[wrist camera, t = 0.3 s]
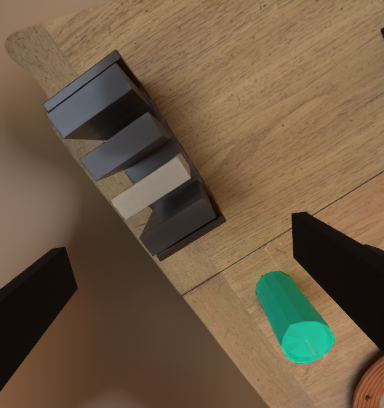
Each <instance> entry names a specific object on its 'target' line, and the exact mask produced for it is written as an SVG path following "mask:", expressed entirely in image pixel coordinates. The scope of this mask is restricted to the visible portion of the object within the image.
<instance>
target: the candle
mask: <svg viewBox="0 0 384 408" xmlns="http://www.w3.org/2000/svg"><path fill="white" fill-rule="evenodd" d="M256 294H257V297H258V299H259V301H260V303H261V305H262V307H263V310H264V312H265V314H266V316H267V318H268V320H269V322H270V325H271V327H272V329H273V331H274V333H275V335H276V337H277V340H278V342H279V344H280V346H281V348H282V350H283V352H284V353H285V355H286V357H287V359H289V360H291V361H294V362H296V363H312V362H313V361H315V360H317V359H319V358H320V357H322V356H324V355H325V354H326V353H327V352H328V351H329V350H330V349H331V348H332V346H333V343H334V340H335V337H334V335H333V333H332V331H331V329H330V327H329V326H328V325H327V323H326V322H325V321H324V320H323V318H322V317H321V316H320V314H319V313H318V312H317V311H316V309H315V308H314V307H313V305H312V304H311V303H310V302H309V300H308V299H307V298H306V297H305V295H304V294H303V293H302V291H301V290H300V289H299V288H298V286H297V285H296V284H295V282H294V281H293V280H292V279H291V277H290V276H288V275H286V274H285V273H283V272H270V273H268V274H266V275H264V276H262V277H261V279H260V280H259V282H258V283H257V285H256Z"/></svg>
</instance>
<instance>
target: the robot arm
mask: <svg viewBox="0 0 384 408" xmlns="http://www.w3.org/2000/svg"><path fill="white" fill-rule="evenodd" d="M292 237H293V257H294V259H295V260H296V261H297V262H298V263H299V264H300V265H301V266H302V267H303V268H304V269H305V270H306V271H307V272H308V273H309V274H310V275H311V277H312V278H313V279H314V280H315V281H316V282H317V283H318V284H319V285H320V286H321V287H322V288H323V289H324V290H325V291H326V292H327V293H328V295H329V296H330V297H331V298H332V299H333V300H334V301H335V302H336V303H337V304H338V305H339V306H340V307H341V308H342V309H343V310H344V312H345V313H346V314H347V315H348V316H349V317H350V318H351V319H352V320H353V321H354V322H355V323H356V324H357V325H358V326H359V327H360V328H361V330H362V331H363V332H364V333H365V334H366V335H367V336H368V337H369V338H370V339H371V340H372V341H373V342H374V343H375V344H376V345H377V347H378V348H379V349H380V350H381V351H384V251H383V250H381V249H379V248H376V247H373V246H370V245H366V244H365V245H362V244H360V243H359V242H357V241H355V240H353V239H352V238H350V237H348V236H346V235H345V234H343V233H341V232H340V231H338V230H336V229H334V228H333V227H331V226H329V225H327V224H326V223H324V222H322V221H320V220H319V219H317V218H315V217H313V216H312V215H310V214H308V213H306V212H299V213H292ZM77 289H78V288H77V284H76V281H75V278H74V274H73V271H72V268H71V264H70V261H69V258H68V254H67V251H66V248H65V247H61V248H54V249H51V250H50V251H49V252H47V253H46V254H45V255H43V256H42V257H41V258H40V259H38V260H37V261H36V262H35V263H33V264H32V265H31V266H29V267H28V268H27V269H26V270H25V271H23V272H22V273H20V274H19V275H18V276H17V277H15V278H14V279H13V280H12V281H10V282H9V283H8V284H6V286H4V287H3V288H1V289H0V391H1V390H2V389H3V387H4V386H5V384H6V383H7V382H8V381H9V379H10V378H11V376H12V375H13V374H14V373H15V371H16V370H17V369H18V367H19V366H20V364H21V363H22V362H23V361H24V359H25V358H26V357H27V355H28V354H29V353H30V351H31V350H32V349H33V347H34V346H35V345H36V343H37V342H38V341H39V339H40V338H41V337H42V335H43V334H44V333H45V331H46V330H47V328H48V327H49V326H50V325H51V323H52V322H53V321H54V319H55V318H56V317H57V315H58V314H59V313H60V311H61V310H62V309H63V307H64V306H65V305H66V303H67V302H68V301H69V299H70V298H71V297H72V295H73V294H74V293H75V291H76V290H77Z"/></svg>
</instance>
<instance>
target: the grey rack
mask: <svg viewBox="0 0 384 408" xmlns="http://www.w3.org/2000/svg"><path fill="white" fill-rule="evenodd" d="M43 106H44V107H45V109H46V110H47V112H49V113H48V114H46V116H47V117H48V119H49V120H50V121H51V123H52V124H53V125H54V126H55V128H56V129H57V130H58V132H59V133H60V134H61V136H62V137H63V138H64V139H84V140H102V141H103V142H104V143H103V144H101V145H100V146H98V147H97V148H95V149H94V150H93V151H91V152H90V153H88V154H87V155H86V156H84V157H83V158H81V159H80V161H81V162H82V164H83V165H84V166H85V168H86V169H87V170H88V172H89V173H90V174H91V175H92V177H93V178H94V179H95V181H98V180H101V179H103V178H106V177H108V176H111V175H113V174H115V173H118V172H120V171H123V170H124V171H125V173H126V174H127V176H128V177H129V178H130V180H131V181H132V183H133V184H134V183H135V182H136V181H138V180H139V179H141V178H142V177H144V176H145V175H147V174H148V173H150V172H151V171H153V170H154V169H156V168H157V167H159V166H160V165H162V164H163V163H165V162H166V161H168V160H169V159H171V158H172V157H174V156H175V155H177V154H178V153H180V152H181V154H182V156H183V157H184V159H185V160H186V162H187V163H188V165H189V167H190V175H191V178H190V179H189V180H187V181H186V182H184V183H183V184H181V185H180V186H178V187H177V188H175V189H174V190H172V191H170V192H169V193H167V194H166V195H164V196H163V197H161V198H160V199H158V200H157V201H155V202H153V203H152V204H150V205H149V206H150V208H151V209H152V210H153V212H152V214H151V216H150V218H149V220H148V222H147V224H146V226H145V228H144V230H143V232H142V234H141V236H140V238H139V239H140V240H141V241H142V243H143V244H144V245H145V247H146V248H147V249H148V250H149V252H150V253H151V254H152V256H154V255H156V254H157V258H158V259H159V260H160V261H162V260H164V259H166V258H167V257H169V256H171V255H172V254H174V253H175V252H177V251H179V250H180V249H182V248H184V247H185V246H187V245H189V244H190V243H192V242H193V241H195V240H197V239H198V238H200V237H202V236H203V235H205V234H206V233H208V232H210V231H211V230H213V229H215V228H216V227H218V226H220V225H221V224H223V223H224V222H226V219H225V217H224V215H223V213H222V211H221V209H220V207H219V206H218V204H217V202H216V200H215V198H214V196H213V195H212V193H211V192H210V190H209V189H208V187H207V186H206V184H205V182H204V181H203V179H202V178H201V176H200V175H199V173H198V171H197V170H196V168H195V167H194V165H193V164H192V162H191V161H190V159H189V157H188V156H187V154H186V153H185V151H184V150H183V148H182V146H181V145H180V143H179V142H178V140H177V139H176V137H175V136H174V134H173V132H172V131H171V129H170V128H169V126H168V125H167V123H166V121H165V120H164V118H163V117H162V115H161V114H160V112H159V111H158V109H157V107H156V106H155V104H154V103H153V101H152V100H151V98H150V96H149V95H148V93H147V92H146V90H145V89H144V87H143V86H142V84H141V82H140V81H139V79H138V78H137V77H136V75H135V74H134V73H133V71H132V70H131V69H130V67H129V66H128V65H127V63H126V62H125V61H124V59H123V58H122V56H121V55H120V54H119V52H118V51H117V50H114V51H113V52H111V53H110V54H109V55H107V56H106V57H105V58H103V59H102V60H101V61H99V62H98V63H97V64H95V65H94V66H93V67H91V68H90V69H89V70H88V71H86V72H85V73H84V74H82V75H81V76H80V77H78V78H77V79H76V80H74V81H73V82H72V83H70V84H69V85H68V86H66V87H65V88H64V89H62V90H61V91H60V92H58V93H57V94H56V95H54V96H53V97H52V98H50V99H49V100H48V101H46V102H45V103H44V104H43Z"/></svg>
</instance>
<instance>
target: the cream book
mask: <svg viewBox="0 0 384 408" xmlns="http://www.w3.org/2000/svg"><path fill="white" fill-rule="evenodd" d="M190 178H191V175H190V167H189V165H188V163H187V162H186V160H185V159H184V157H183V156H182V154H181V152H180V153H178V154H177V155H175V156H174V157H172V158H171V159H169V160H168V161H166V162H165V163H163V164H162V165H160V166H159V167H157V168H156V169H154V170H153V171H151V172H150V173H148V174H147V175H145V176H144V177H142V178H141V179H139V180H138V181H136V182H135V183H134V184H132V185H131V186H130V187H128V188H127V189H125V190H124V191H123V192H121V193H120V194H119V195H117V196H116V197H115V198H113V199H112V200H111V202H112V203H113V204H114V206H115V207H116V208H117V210H118V211H119V212H120V214H121V215H122V216H123V218H124V219H125V220H127V219H129V218H130V217H132V216H133V215H135V214H137V213H138V212H140V211H141V210H143V209H144V208H146V207H147V206H149V205H150V204H152V203H153V202H155V201H157V200H158V199H160V198H161V197H163V196H164V195H166V194H167V193H169V192H170V191H172V190H174V189H175V188H177V187H178V186H180V185H181V184H183V183H184V182H186V181H187V180H189V179H190Z"/></svg>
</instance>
